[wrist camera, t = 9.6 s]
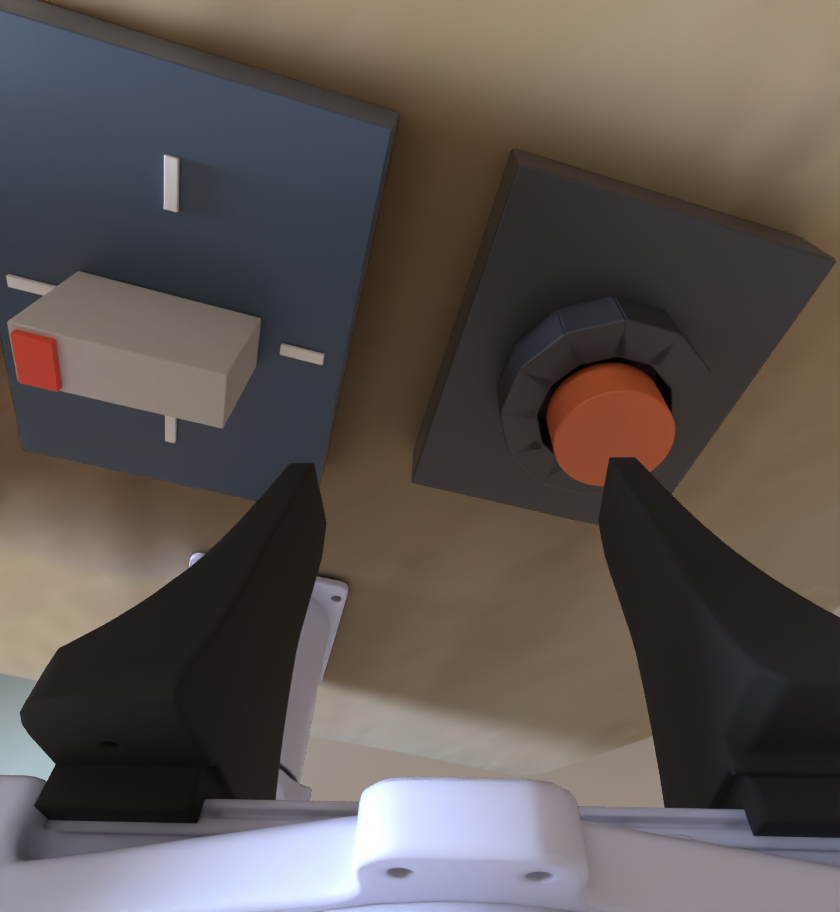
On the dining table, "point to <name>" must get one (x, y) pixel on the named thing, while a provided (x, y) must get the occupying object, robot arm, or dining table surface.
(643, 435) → the button
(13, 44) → the dial panel
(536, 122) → the dining table surface
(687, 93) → the dining table surface
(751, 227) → the button base
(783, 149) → the dining table surface
